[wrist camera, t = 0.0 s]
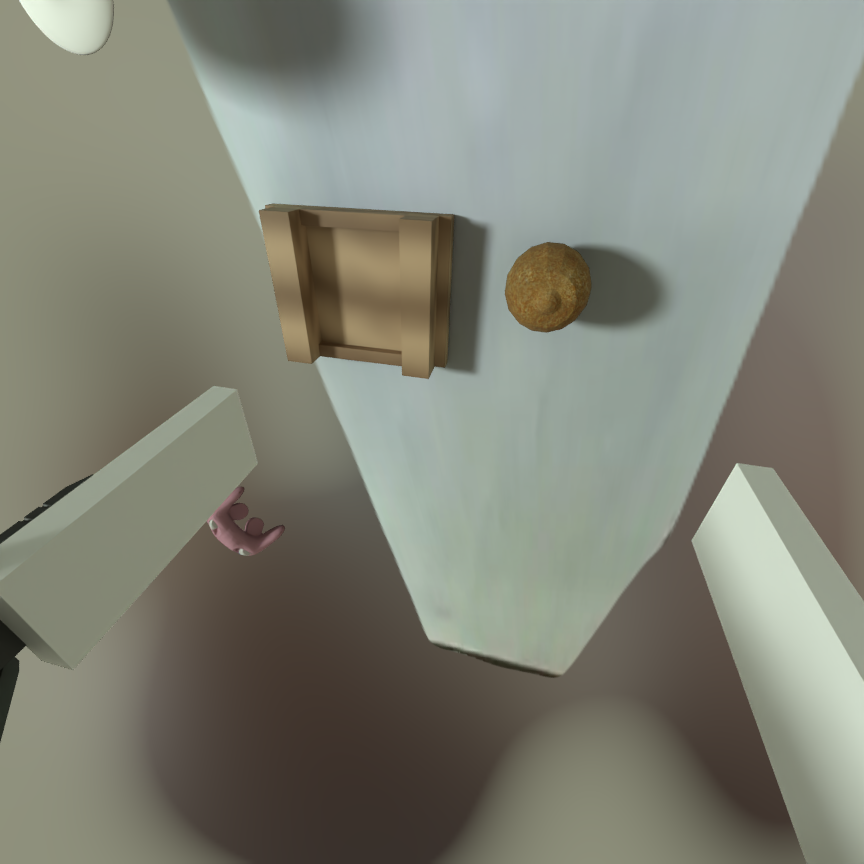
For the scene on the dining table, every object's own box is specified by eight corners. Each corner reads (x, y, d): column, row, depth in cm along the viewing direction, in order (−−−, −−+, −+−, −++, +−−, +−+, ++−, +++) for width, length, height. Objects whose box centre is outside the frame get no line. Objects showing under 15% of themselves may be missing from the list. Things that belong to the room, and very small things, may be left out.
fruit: (493, 278, 36) (481, 309, 29) (547, 214, 32) (547, 233, 26) (546, 325, 37) (546, 364, 30) (604, 269, 33) (617, 300, 27)
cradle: (272, 203, 36) (247, 209, 33) (454, 214, 33) (445, 221, 30) (297, 344, 44) (278, 359, 41) (447, 362, 41) (439, 380, 38)
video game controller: (233, 482, 62) (193, 519, 58) (241, 483, 58) (199, 522, 55) (279, 526, 65) (244, 563, 62) (289, 530, 62) (253, 569, 58)
